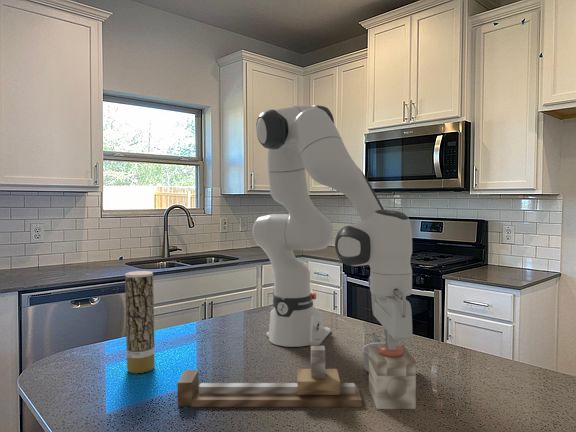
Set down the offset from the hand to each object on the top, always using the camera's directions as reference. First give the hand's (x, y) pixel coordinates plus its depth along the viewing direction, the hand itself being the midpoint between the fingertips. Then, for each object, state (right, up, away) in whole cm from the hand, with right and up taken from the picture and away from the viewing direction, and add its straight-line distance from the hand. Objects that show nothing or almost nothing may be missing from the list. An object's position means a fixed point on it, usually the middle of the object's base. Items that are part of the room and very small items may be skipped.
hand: (390, 348), depth 97 cm
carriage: (-16, -10, +1) cm, 18 cm away
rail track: (-21, -11, +1) cm, 24 cm away
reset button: (0, -4, 0) cm, 4 cm away
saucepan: (+2, -11, +20) cm, 23 cm away
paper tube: (-60, -11, +18) cm, 64 cm away
